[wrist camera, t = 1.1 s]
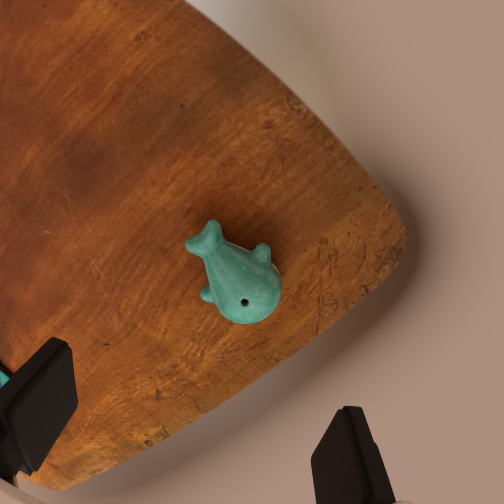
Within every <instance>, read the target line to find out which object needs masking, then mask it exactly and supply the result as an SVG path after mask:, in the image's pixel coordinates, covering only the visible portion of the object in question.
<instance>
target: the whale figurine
mask: <svg viewBox="0 0 504 504" xmlns="http://www.w3.org/2000/svg"><path fill="white" fill-rule="evenodd" d="M185 247H186V249H187V250H188V251H190V252H191V253H193V254H195V255H198V256H200V257H201V258H202V259H203V260H204V263H205V268H206V273H207V277H208V280H209V284H208V285H206V286H204V287H202V288H201V290H200V296H201V298H202V299H203V300H204V301H207V302H211V303H215V304H216V306H217V308H218V310H219V311H220V313H221V314H222V315H223V316H224V317H226V318H227V319H229V320H231V321H233V322H236V323H240V324H251V323H256V322H259V321H261V320H263V319H265V318H266V317H268V316H269V315H270V314H271V313H272V312H273V311H274V310H275V308H276V307H277V305H278V303H279V301H280V299H281V294H282V280H281V276H280V273H279V271H278V269H277V268H276V266H275V265H274V264H272V263H271V249H270V247H269V246H268V245H267V244H265V243H261V244H258V245H257V246H256V247H255V249H254V250H252V251H249V250H247V249H245V248H242V247H240V246H238V245H235V244H233V243H230V242H228V241H226V240H225V239H224V237H223V233H222V228H221V225H220V223H219V222H218V221H217V220H215V219H211V220H209V221H208V222H207V224H206V225H205V227H204V228H203V230H202V231H201V232H199V233H198V234H196V235H195V236H192V237H189V238H188V239H187V240H186V242H185Z"/></svg>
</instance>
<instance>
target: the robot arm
mask: <svg viewBox="0 0 504 504" xmlns="http://www.w3.org/2000/svg"><path fill="white" fill-rule="evenodd" d="M77 405H78V398H77V391H76V384H75V376H74V368H73V358H72V350H71V348H70V347H69V346H68V343H67V342H65V341H63V340H60V339H58V338H55V337H51V338H50V339H49V340H48V341H47V342H46V343H45V344H44V345H43V346H42V347H41V348H40V349H39V350H38V351H37V352H36V353H35V354H34V355H33V356H32V357H31V358H30V359H29V360H28V361H27V362H26V363H25V364H24V365H22V366H21V367H20V368H19V369H18V370H17V371H16V372H15V373H14V375H13V376H12V377H11V378H10V379H9V380H8V381H7V382H6V383H5V384H4V385H3V386H2V387H1V388H0V504H45V503H43V502H42V501H39V500H38V499H36V498H34V497H32V496H30V495H28V494H26V493H25V492H23V491H21V490H19V487H18V483H17V479H16V475H17V473H18V471H19V470H20V471H22V472H24V473H25V474H27V475H29V476H31V474H32V472H33V471H35V472H36V471H38V470H39V468H40V466H41V465H42V463H43V461H44V460H45V458H46V456H47V455H48V453H49V451H50V450H51V448H52V447H53V445H54V443H55V442H56V440H57V438H58V437H59V435H60V434H61V432H62V430H63V429H64V427H65V426H66V424H67V422H68V421H69V419H70V418H71V416H72V415H73V413H74V411H75V410H76V408H77ZM311 467H312V475H313V482H314V489H315V497H316V504H414V503H412V502H408V501H398V502H396V500H395V497H394V494H393V491H392V488H391V484H390V481H389V478H388V475H387V472H386V469H385V467H384V463H383V461H382V458H381V455H380V452H379V449H378V447H377V445H376V443H374V441H373V438H372V435H371V432H370V429H369V426H368V424H367V421H366V418H365V415H364V412H363V410H362V408H361V407H356V406H344V407H343V409H339V410H338V411H337V412H336V414H335V416H334V418H333V420H332V421H331V423H330V425H329V427H328V429H327V430H326V432H325V434H324V435H323V437H322V439H321V441H320V442H319V444H318V446H317V447H316V449H315V451H314V452H313V454H312V457H311Z"/></svg>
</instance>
